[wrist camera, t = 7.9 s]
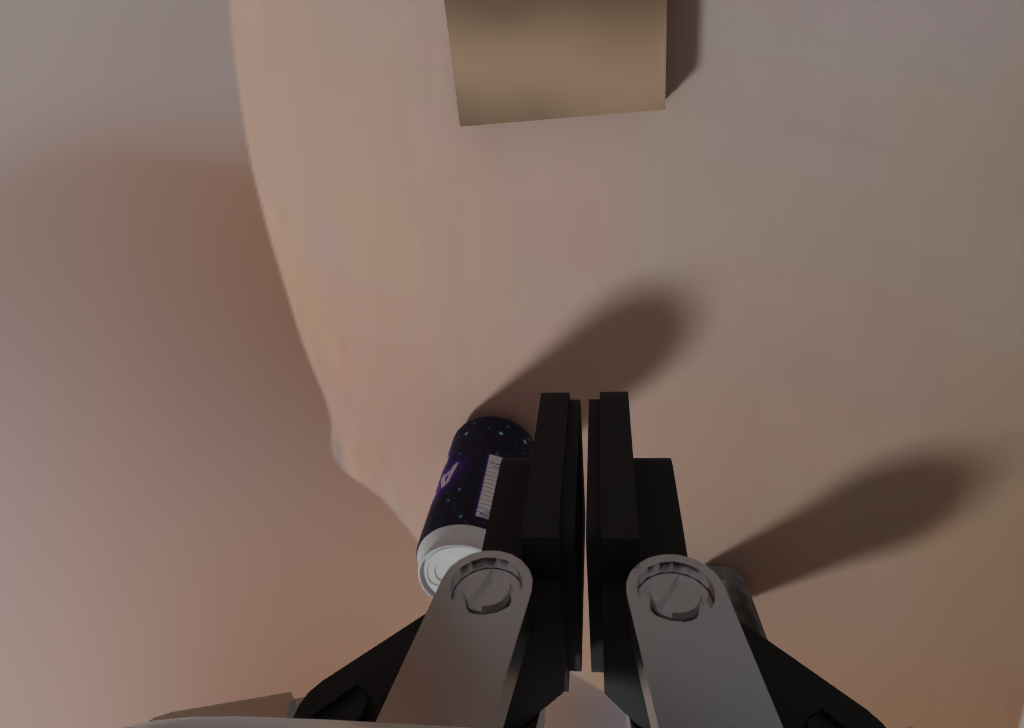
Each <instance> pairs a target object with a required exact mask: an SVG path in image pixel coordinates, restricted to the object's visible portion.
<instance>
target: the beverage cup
mask: <svg viewBox="0 0 1024 728" xmlns="http://www.w3.org/2000/svg"><path fill="white" fill-rule="evenodd" d="M708 567H709V568H710V569H711V570H712V571H714V572H715V573H716V574H717V575H718V577H719V578H720V580H721V582H722V583H723V585H724V587H725V589H726V591H727V594H728V596H729V599H730V601H731V603H732V606H733V608H734V611H735V613H736V615H737V618H738V620H739V621H741V622H742V623H744V624H745V625H747V626H748V627H749V628H751V629H752V630H754V631H755V632H757V633H758V634H759V635H761V636H762V637H764V638H765V639H767V638H766V635H765V632H764V630H763V627H762V624H761V621H760V619H759V616H758V613H757V611H756V608H755V605H754V603H753V600H752V597H751V594H750V593H749V592H748V589H747V587H746V584H745V581H744V578H743V577H742V576H741V575H740V574H739V573H738V572H737V571H735V570H734V569H732V568H730V567H726V566H722V565H708Z"/></svg>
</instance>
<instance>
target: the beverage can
mask: <svg viewBox="0 0 1024 728" xmlns="http://www.w3.org/2000/svg"><path fill="white" fill-rule="evenodd" d="M533 447H534V442H533V440H532V438H531V437H530V435H529V434H528V433H527V432H526V431H525V430H524V429H523V428H522V427H520V426H519V425H517V424H516V423H514V422H512V421H510V420H507V419H504V418H499V417H481V418H477V419H474V420H471V421H469V422H467V423H466V424H464V425H463V426H462V427H461V428H460V429H459V430H458V431H457V433H456V434H455V436H454V439H453V442H452V445H451V448H450V451H449V454H448V457H447V460H446V463H445V466H444V469H443V472H442V475H441V478H440V481H439V484H438V487H437V490H436V493H435V496H434V498H433V501H432V504H431V507H430V510H429V513H428V516H427V519H426V522H425V525H424V528H423V531H422V534H421V537H420V540H419V543H418V546H417V561H418V565H419V567H418V577H419V580H420V584H421V586H422V587H423V589H424V590H425V592H426V593H427V594H428V595H429V596H430V597H431V598H432V599H433V597H434V595H435V593H436V591H437V589H438V587H439V584H440V582H441V580H442V578H443V577H444V575H445V574H446V572H447V571H448V569H449V568H450V567H451V566H452V565H453V564H455V563H456V562H457V561H458V560H459V559H462V558H464V557H466V556H468V555H470V554H472V553H477V552H482V547H483V542H484V537H485V533H486V528H487V523H488V519H489V514H490V509H491V505H492V500H493V495H494V491H495V486H496V481H497V476H498V472H499V467H500V463H501V460H502V459H503V458H532V454H533Z"/></svg>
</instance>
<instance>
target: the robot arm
mask: <svg viewBox="0 0 1024 728" xmlns="http://www.w3.org/2000/svg"><path fill="white" fill-rule="evenodd" d="M584 549H585V496H584V473H583V449H582V425H581V403H580V400H570V394H569V392H567V393H541V399H540V406H539V413H538V420H537V426H536V433H535V440H534V447H533V454H532V458H503V459H502V460H501V463H500V467H499V472H498V476H497V481H496V486H495V491H494V495H493V500H492V505H491V509H490V514H489V519H488V523H487V528H486V533H485V537H484V542H483V547H482V552H477V553H472V554H470V555H468V556H466V557H464V558H462V559H459V560H458V561H457V562H456V563H455V564H453V565H452V566H451V567H450V568H449V569H448V571H447V572H446V574H445V575H444V577H443V578H442V580H441V582H440V584H439V587H438V589H437V591H436V593H435V595H434V597H433V599H432V602H431V604H430V606H429V608H428V610H427V612H426V614H425V615H423V616H421V617H420V618H418V619H417V620H415V621H414V622H412V623H411V624H409V625H408V626H406V627H405V628H403V629H402V630H400V631H399V632H397V633H395V634H394V635H392V636H391V637H389V638H388V639H386V640H385V641H383V642H382V643H380V644H378V645H377V646H375V647H374V648H372V649H371V650H370V651H368V652H366V653H365V654H363V655H362V656H360V657H359V658H357V659H356V660H354V661H352V662H351V663H349V664H348V665H346V666H345V667H343V668H342V669H340V670H339V671H337V672H335V673H334V674H333V675H331V676H329V677H328V678H326V679H325V680H323V681H322V682H321V683H319V684H318V685H317V686H316V687H314V688H313V689H312V690H311V691H310V692H309V693H308V694H307V695H306V697H302V698H296V699H294V698H293V695H292V693H291V692H288V693H281V694H275V695H270V696H264V697H258V698H252V699H246V700H240V701H234V702H229V703H222V704H216V705H211V706H205V707H199V708H193V709H187V710H182V711H176V712H170V713H167V714H164V715H161V716H158V717H155V718H153V719H151V720H150V721H148V722H144V723H139V724H134V725H128V726H123V727H118V728H544V724H545V713H546V710H545V707H546V706H548V705H549V704H550V703H551V702H552V701H554V700H555V699H556V698H557V697H558V696H560V695H561V694H562V693H563V692H564V691H569V671H581V669H582V633H583V591H584ZM586 551H587V576H588V599H589V623H590V646H591V669H592V672H604V692H605V694H606V695H607V696H608V697H609V698H610V699H611V700H612V701H613V702H614V703H615V704H616V705H617V706H618V707H619V708H620V709H621V710H622V711H623V712H624V713H626V714H627V728H886V727H885V726H884V725H883V723H881V722H880V721H879V720H878V719H877V718H876V717H875V716H873V715H872V714H871V713H870V712H869V711H868V710H866V709H865V708H864V707H862V706H861V705H859V704H858V703H856V702H855V701H854V700H852V699H851V698H849V697H848V696H847V695H845V694H844V693H842V692H841V691H839V690H838V689H837V688H835V687H834V686H832V685H831V684H829V683H828V682H827V681H825V680H824V679H822V678H821V677H819V676H818V675H817V674H815V673H814V672H812V671H811V670H809V669H808V668H807V667H805V666H804V665H802V664H801V663H799V662H798V661H797V660H795V659H794V658H792V657H791V656H789V655H788V654H787V653H785V652H784V651H782V650H781V649H779V648H778V647H777V646H775V645H774V644H772V643H771V642H769V641H768V640H767V639H765V638H764V637H762V636H761V635H759V634H758V633H757V632H755V631H754V630H752V629H751V628H749V627H748V626H747V625H745V624H744V623H742V622H741V621H739V620H738V618H737V615H736V613H735V611H734V608H733V606H732V603H731V601H730V599H729V596H728V594H727V591H726V589H725V587H724V585H723V583H722V582H721V580H720V578H719V577H718V575H717V574H716V573H715V572H714V571H712V570H711V569H710V568H709V567H708V566H707V565H705V564H703V563H701V562H699V561H697V560H695V559H693V558H689V557H688V556H687V550H686V544H685V538H684V532H683V526H682V520H681V514H680V508H679V502H678V495H677V489H676V483H675V477H674V471H673V465H672V460H671V459H670V458H633V450H632V437H631V425H630V412H629V399H628V392H600V399H589V419H588V466H587V512H586ZM907 728H914V727H911V726H908V727H907Z"/></svg>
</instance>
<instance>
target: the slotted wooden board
mask: <svg viewBox="0 0 1024 728" xmlns="http://www.w3.org/2000/svg"><path fill="white" fill-rule="evenodd" d="M444 2H445V10H446V17H447V25H448V33H449V41H450V49H451V57H452V65H453V73H454V81H455V89H456V96H457V104H458V112H459V120H460V126H471V125H483V124H495V123H507V122H519V121H531V120H543V119H555V118H567V117H578V116H590V115H602V114H614V113H626V112H638V111H650V110H662V109H665V93H666V32H667V0H444Z"/></svg>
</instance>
